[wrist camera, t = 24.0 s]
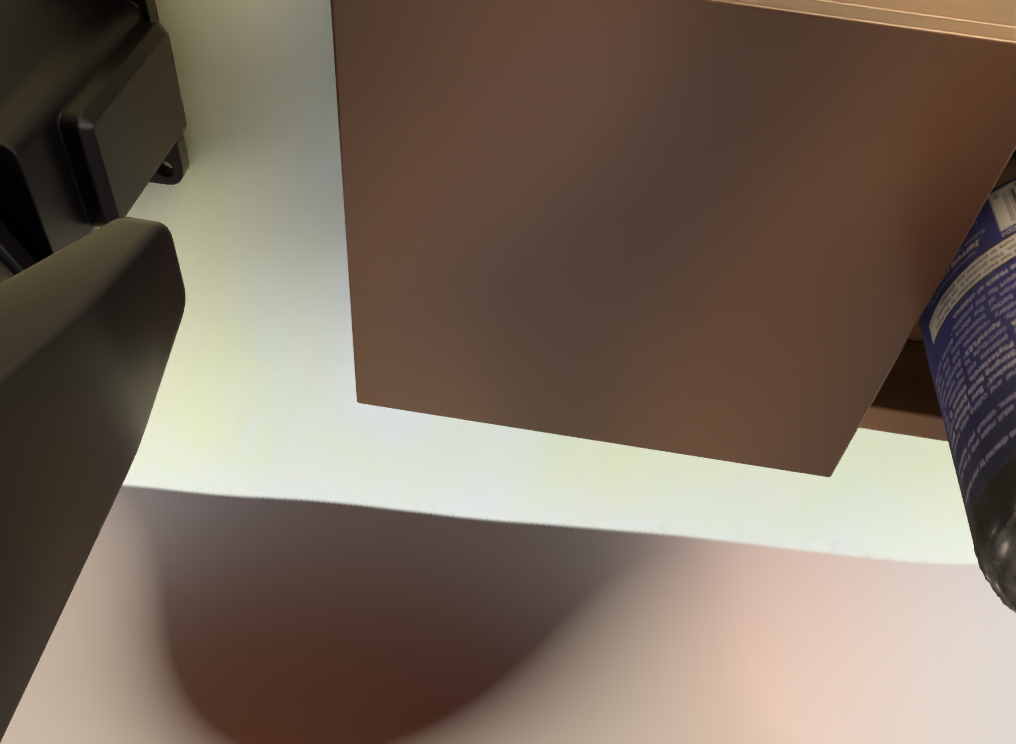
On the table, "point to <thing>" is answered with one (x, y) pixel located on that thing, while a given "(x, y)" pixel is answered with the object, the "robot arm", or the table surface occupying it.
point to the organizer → (660, 208)
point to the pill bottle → (982, 378)
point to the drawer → (908, 396)
